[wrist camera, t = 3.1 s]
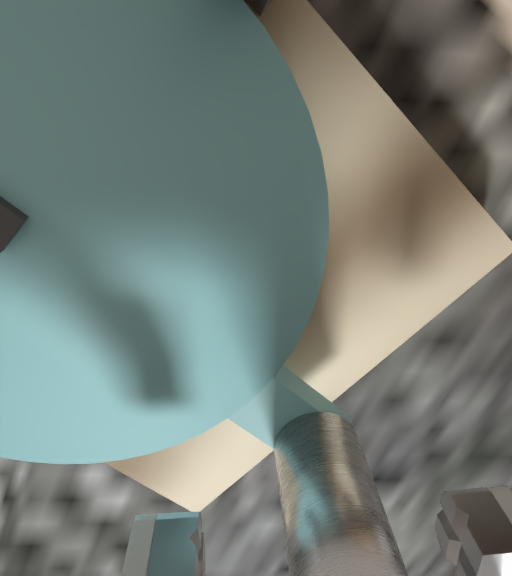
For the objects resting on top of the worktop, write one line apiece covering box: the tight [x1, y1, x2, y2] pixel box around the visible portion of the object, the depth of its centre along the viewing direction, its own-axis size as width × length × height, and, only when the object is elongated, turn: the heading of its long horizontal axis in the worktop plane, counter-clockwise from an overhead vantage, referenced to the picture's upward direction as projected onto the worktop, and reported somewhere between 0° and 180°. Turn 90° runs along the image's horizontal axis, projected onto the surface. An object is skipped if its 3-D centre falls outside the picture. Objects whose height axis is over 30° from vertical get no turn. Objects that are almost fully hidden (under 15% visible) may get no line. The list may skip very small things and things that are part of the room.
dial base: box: [103, 0, 512, 512], centre depth 11 cm, size 20×14×6 cm
